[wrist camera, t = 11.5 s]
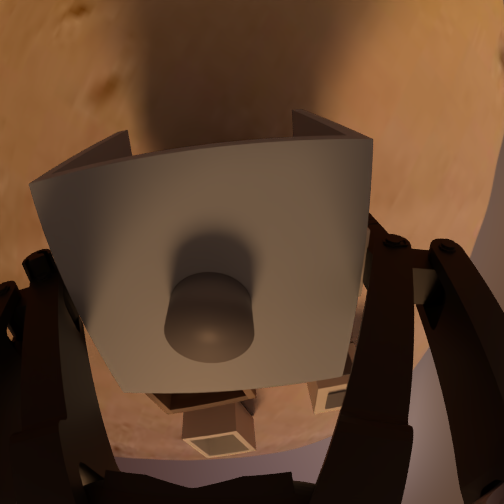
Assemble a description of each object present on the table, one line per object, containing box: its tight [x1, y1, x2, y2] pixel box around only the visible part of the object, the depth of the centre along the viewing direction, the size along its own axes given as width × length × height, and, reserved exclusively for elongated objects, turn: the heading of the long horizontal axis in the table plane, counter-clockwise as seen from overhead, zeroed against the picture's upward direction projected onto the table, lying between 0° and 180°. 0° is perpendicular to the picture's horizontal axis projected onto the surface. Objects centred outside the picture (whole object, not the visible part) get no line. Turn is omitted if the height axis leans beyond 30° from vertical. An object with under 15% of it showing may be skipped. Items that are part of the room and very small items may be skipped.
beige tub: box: [182, 401, 256, 458], centre depth 30 cm, size 6×6×4 cm
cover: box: [29, 110, 373, 393], centre depth 12 cm, size 9×9×9 cm
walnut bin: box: [145, 389, 256, 414], centre depth 23 cm, size 8×8×5 cm
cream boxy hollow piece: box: [307, 343, 356, 414], centre depth 27 cm, size 5×4×5 cm
